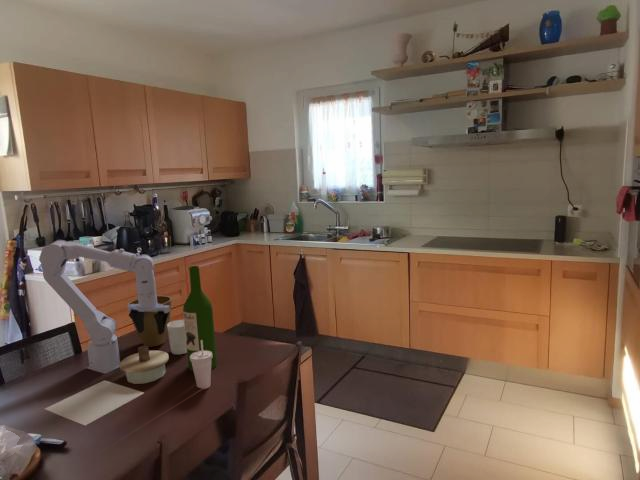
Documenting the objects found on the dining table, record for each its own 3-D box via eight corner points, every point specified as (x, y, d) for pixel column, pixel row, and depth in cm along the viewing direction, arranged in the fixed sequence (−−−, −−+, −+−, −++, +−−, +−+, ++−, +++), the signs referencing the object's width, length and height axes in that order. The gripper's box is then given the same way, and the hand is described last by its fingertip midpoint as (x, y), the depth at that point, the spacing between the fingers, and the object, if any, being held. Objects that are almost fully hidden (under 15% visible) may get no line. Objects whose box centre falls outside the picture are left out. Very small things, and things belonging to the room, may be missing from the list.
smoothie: (209, 392, 128) (205, 345, 126) (188, 390, 129) (183, 344, 127) (218, 381, 134) (214, 336, 132) (198, 380, 136) (194, 335, 133)
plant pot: (183, 337, 171) (179, 296, 168) (156, 353, 157) (151, 308, 155) (152, 333, 176) (147, 294, 174) (123, 348, 162) (118, 305, 160)
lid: (109, 367, 136) (107, 352, 136) (147, 350, 148) (146, 336, 148) (141, 376, 129) (139, 360, 129) (178, 357, 141) (177, 342, 141)
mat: (44, 410, 122) (44, 408, 122) (104, 381, 137) (104, 380, 137) (85, 427, 113) (85, 425, 113) (144, 394, 128) (144, 392, 128)
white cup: (172, 347, 162) (169, 320, 160) (195, 345, 163) (192, 318, 161) (167, 356, 154) (164, 328, 153) (190, 354, 155) (188, 326, 153)
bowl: (119, 381, 138) (117, 366, 137) (148, 366, 147) (147, 352, 146) (143, 388, 132) (142, 373, 132) (172, 372, 142) (171, 358, 141)
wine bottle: (182, 370, 143) (172, 269, 138) (200, 358, 151) (191, 263, 146) (206, 373, 140) (196, 271, 134) (222, 361, 148) (214, 264, 142)
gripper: (119, 295, 145) (124, 335, 147) (159, 297, 141) (163, 338, 143) (133, 289, 152) (138, 328, 154) (171, 290, 148) (176, 330, 150)
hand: (151, 332), depth 149 cm, fingers open, 7 cm apart
